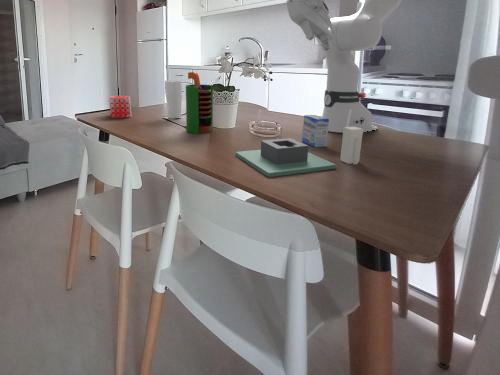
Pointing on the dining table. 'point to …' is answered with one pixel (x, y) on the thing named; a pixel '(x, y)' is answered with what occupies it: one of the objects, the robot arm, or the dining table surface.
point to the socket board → (284, 158)
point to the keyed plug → (351, 145)
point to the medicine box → (315, 130)
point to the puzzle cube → (120, 106)
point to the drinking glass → (173, 97)
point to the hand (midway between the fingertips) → (319, 44)
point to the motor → (199, 106)
